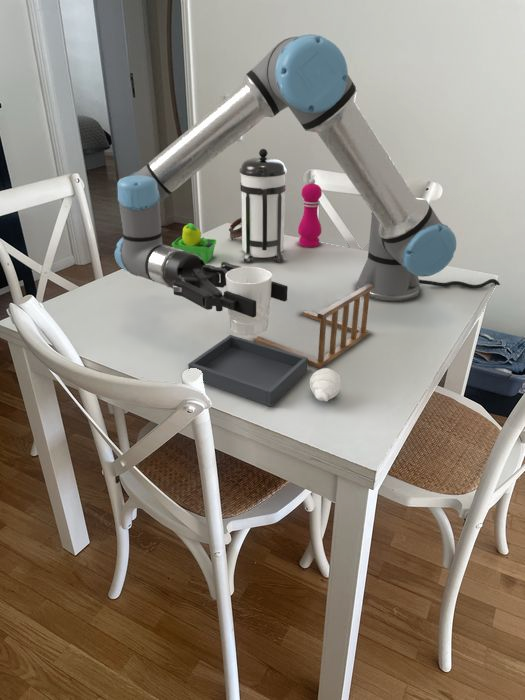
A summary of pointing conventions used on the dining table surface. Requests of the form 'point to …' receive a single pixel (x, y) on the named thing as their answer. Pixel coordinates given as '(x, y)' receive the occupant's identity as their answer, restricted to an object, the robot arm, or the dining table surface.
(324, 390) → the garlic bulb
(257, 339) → the drying rack
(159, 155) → the robot arm
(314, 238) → the pepper mill
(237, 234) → the pottery mug
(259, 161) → the coffee press
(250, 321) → the white cup
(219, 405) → the dining table surface
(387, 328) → the dining table surface
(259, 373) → the dark grey tray
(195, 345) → the dining table surface
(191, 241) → the fruit basket
